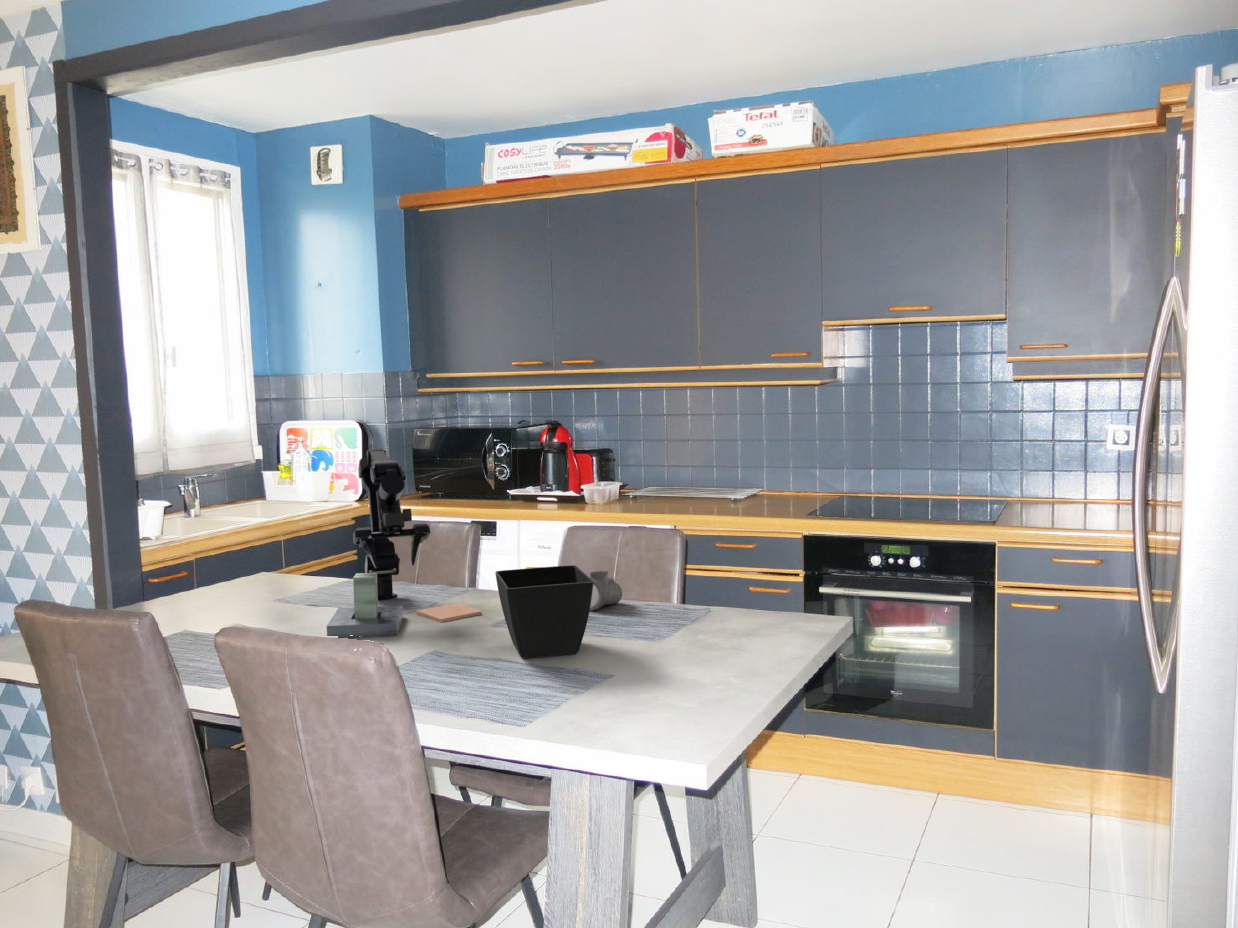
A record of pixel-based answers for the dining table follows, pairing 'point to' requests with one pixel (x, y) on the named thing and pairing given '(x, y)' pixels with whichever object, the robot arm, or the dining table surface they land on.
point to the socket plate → (366, 623)
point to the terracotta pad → (448, 612)
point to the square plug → (365, 595)
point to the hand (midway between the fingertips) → (394, 566)
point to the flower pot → (545, 608)
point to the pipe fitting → (604, 590)
